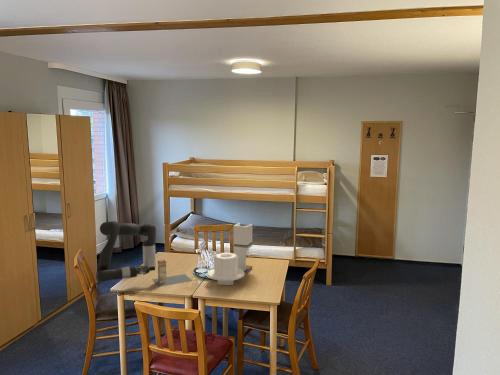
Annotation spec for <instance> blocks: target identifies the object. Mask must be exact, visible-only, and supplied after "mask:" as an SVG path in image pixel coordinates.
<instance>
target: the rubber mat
mask: <svg viewBox="0 0 500 375" xmlns="http://www.w3.org/2000/svg"><path fill="white" fill-rule="evenodd" d="M152 282H153V283H154V284H155V285H156V286H157V287H158V288H160V287H167V286H171V285H177V284H182V283H183V284H184V283H187V282H188V283H190V282H193V280H192V279H191V278H190V277H189V276H188V275H187V274H185V273H182V274H176V275H170V276H166V283H159V282H158V278H152Z"/></svg>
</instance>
